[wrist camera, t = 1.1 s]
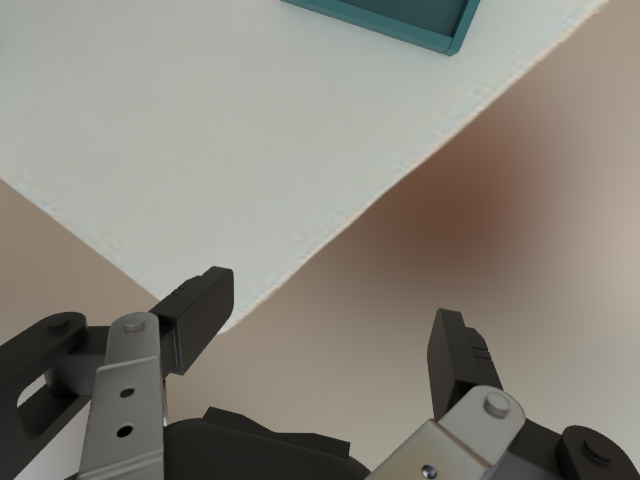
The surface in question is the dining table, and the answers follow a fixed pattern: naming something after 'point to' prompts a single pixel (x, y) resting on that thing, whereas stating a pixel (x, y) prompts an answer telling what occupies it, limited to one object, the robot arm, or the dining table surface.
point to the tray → (405, 19)
